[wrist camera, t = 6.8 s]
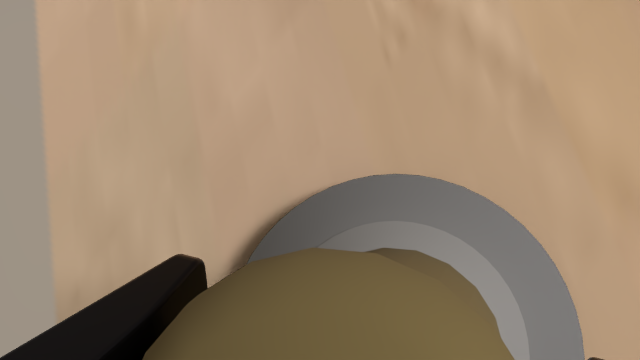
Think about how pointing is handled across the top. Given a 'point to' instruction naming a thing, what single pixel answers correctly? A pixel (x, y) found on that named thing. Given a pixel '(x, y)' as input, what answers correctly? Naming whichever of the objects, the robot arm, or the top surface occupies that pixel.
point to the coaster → (445, 251)
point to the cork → (336, 311)
